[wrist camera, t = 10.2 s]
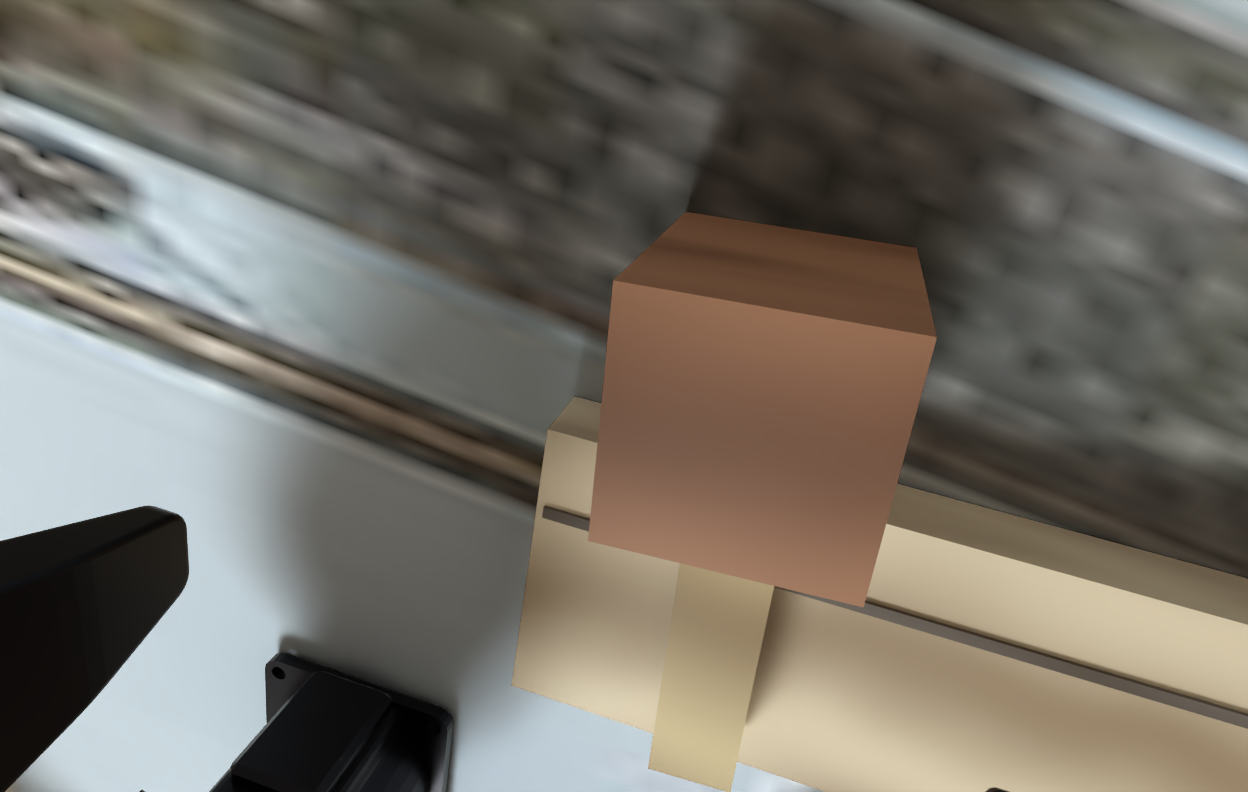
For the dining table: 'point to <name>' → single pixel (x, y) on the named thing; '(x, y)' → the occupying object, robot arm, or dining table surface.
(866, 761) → the board
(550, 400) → the dining table surface
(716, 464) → the wooden mallet
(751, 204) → the dining table surface
